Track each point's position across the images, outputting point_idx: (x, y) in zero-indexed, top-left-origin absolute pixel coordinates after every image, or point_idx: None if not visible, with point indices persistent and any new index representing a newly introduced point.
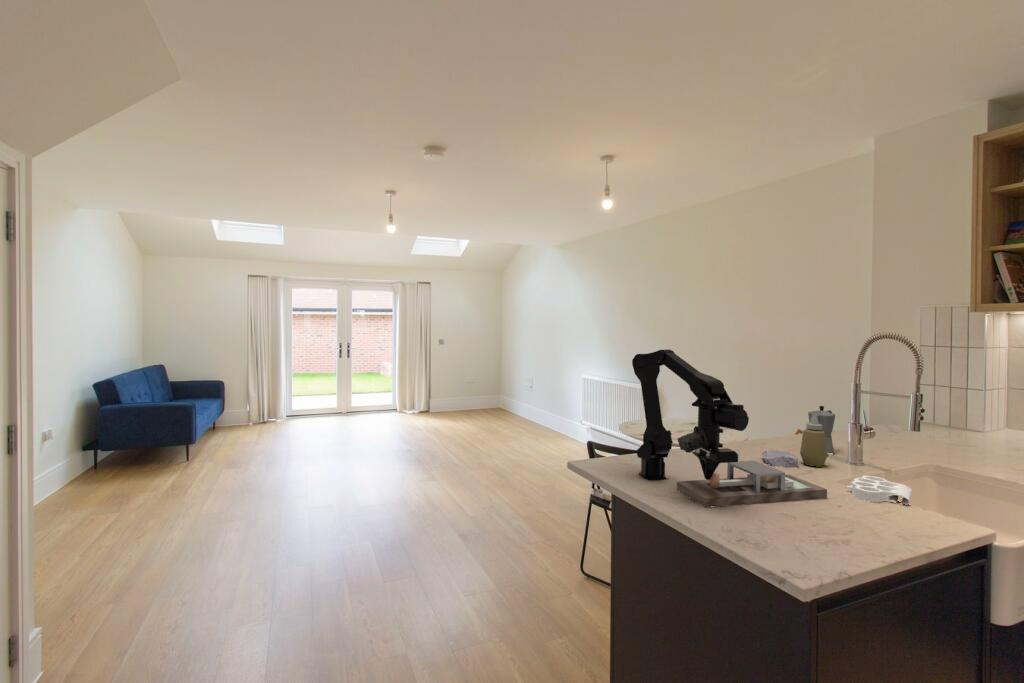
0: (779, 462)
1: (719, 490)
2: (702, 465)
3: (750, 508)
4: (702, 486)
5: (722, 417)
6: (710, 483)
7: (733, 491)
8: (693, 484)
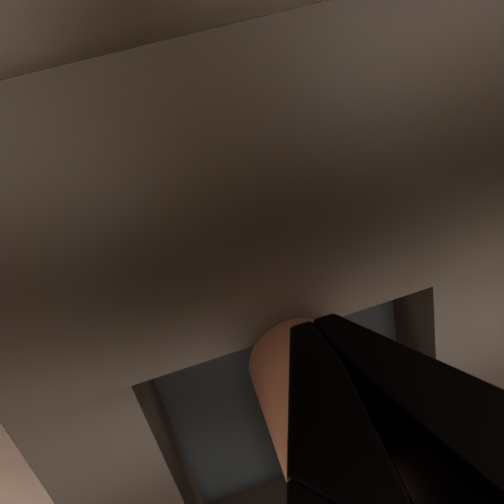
0: None
1: None
2: (497, 448)
3: (5, 495)
4: (335, 239)
5: None
6: None
7: None
8: (415, 151)
